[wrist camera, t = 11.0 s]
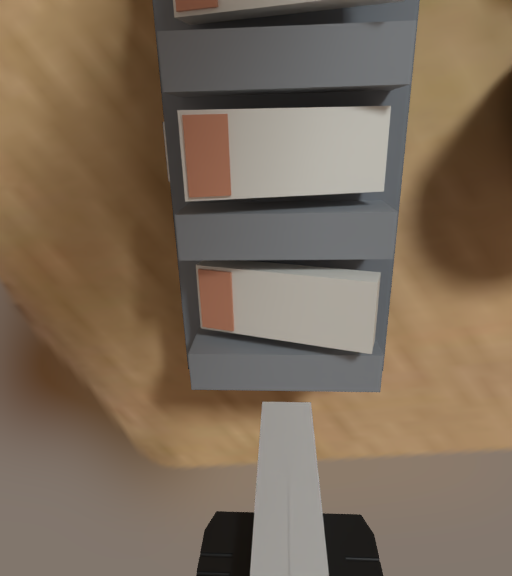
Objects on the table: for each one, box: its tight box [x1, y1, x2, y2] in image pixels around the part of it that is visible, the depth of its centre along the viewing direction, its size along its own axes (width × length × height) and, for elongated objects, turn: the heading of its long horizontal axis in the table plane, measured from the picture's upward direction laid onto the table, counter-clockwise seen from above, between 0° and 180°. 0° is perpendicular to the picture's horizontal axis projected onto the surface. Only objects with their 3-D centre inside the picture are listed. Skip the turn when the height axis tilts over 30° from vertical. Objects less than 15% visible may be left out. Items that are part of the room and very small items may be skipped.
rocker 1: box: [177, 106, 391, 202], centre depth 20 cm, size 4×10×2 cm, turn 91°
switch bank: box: [153, 0, 420, 392], centre depth 24 cm, size 28×13×8 cm, turn 1°
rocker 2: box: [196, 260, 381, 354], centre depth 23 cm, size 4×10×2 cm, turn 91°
